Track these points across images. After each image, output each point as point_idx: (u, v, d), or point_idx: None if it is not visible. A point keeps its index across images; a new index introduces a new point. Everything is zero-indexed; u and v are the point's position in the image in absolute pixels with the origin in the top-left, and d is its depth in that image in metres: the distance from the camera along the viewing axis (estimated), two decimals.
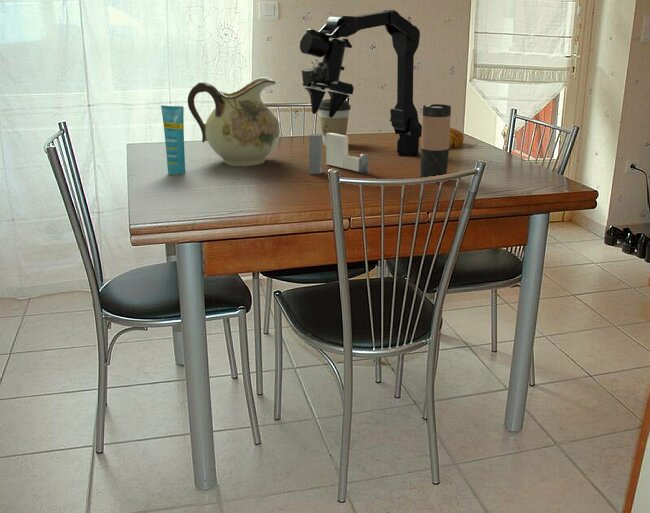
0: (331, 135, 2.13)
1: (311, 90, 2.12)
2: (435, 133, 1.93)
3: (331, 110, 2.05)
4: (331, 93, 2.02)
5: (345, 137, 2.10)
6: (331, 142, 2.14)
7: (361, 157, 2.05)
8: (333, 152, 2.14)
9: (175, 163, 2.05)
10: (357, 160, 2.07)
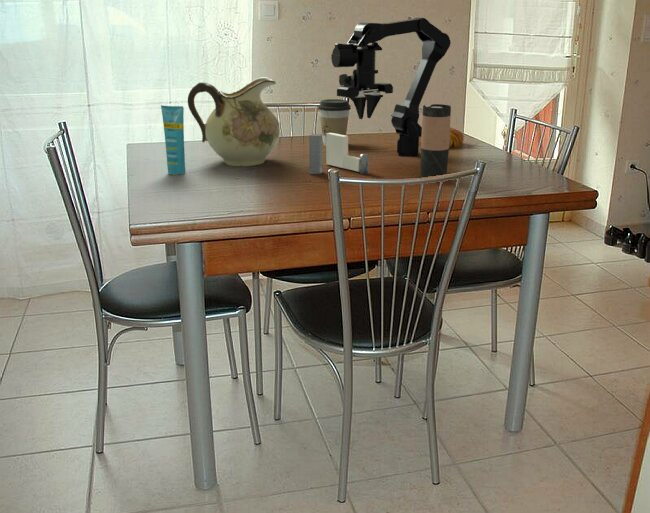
0: (331, 135, 2.13)
1: (365, 96, 2.24)
2: (435, 133, 1.93)
3: (357, 112, 2.22)
4: None
5: (345, 137, 2.10)
6: (331, 142, 2.14)
7: (361, 157, 2.05)
8: (333, 152, 2.14)
9: (175, 163, 2.05)
10: (357, 160, 2.07)
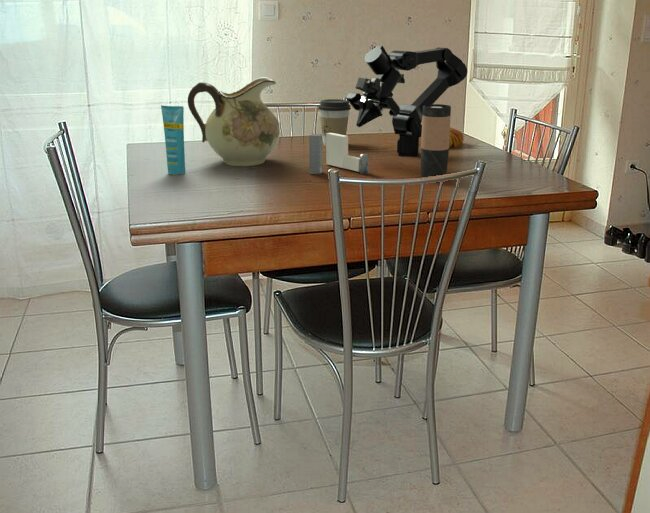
0: (331, 135, 2.13)
1: (364, 104, 2.17)
2: (435, 133, 1.93)
3: (362, 120, 2.16)
4: (369, 104, 2.14)
5: (345, 137, 2.10)
6: (331, 142, 2.14)
7: (361, 157, 2.05)
8: (333, 152, 2.14)
9: (175, 163, 2.05)
10: (357, 160, 2.07)
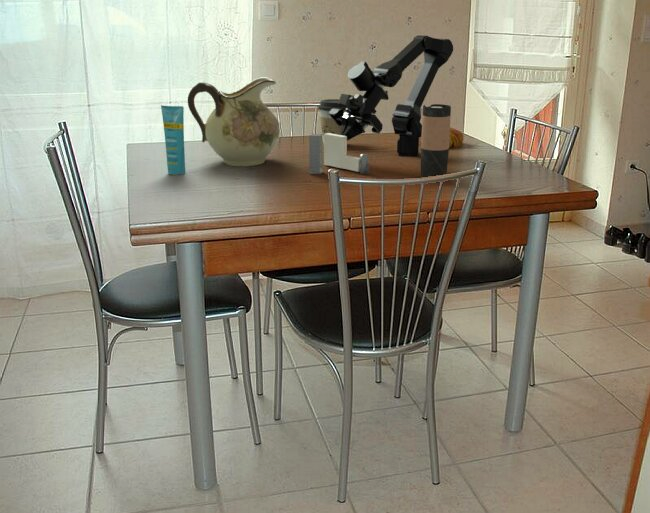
0: (329, 135, 2.13)
1: (346, 121, 2.14)
2: (435, 133, 1.93)
3: None
4: (352, 120, 2.11)
5: (344, 137, 2.10)
6: (329, 142, 2.13)
7: (361, 157, 2.05)
8: (331, 152, 2.14)
9: (175, 163, 2.05)
10: (357, 160, 2.07)
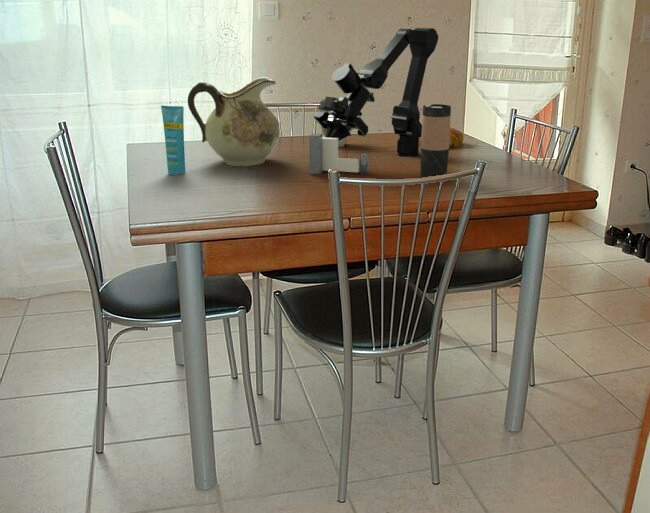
0: None
1: (331, 124, 2.10)
2: (435, 133, 1.93)
3: None
4: (337, 123, 2.08)
5: (337, 139, 2.07)
6: None
7: (361, 157, 2.05)
8: None
9: (175, 163, 2.05)
10: (356, 161, 2.06)
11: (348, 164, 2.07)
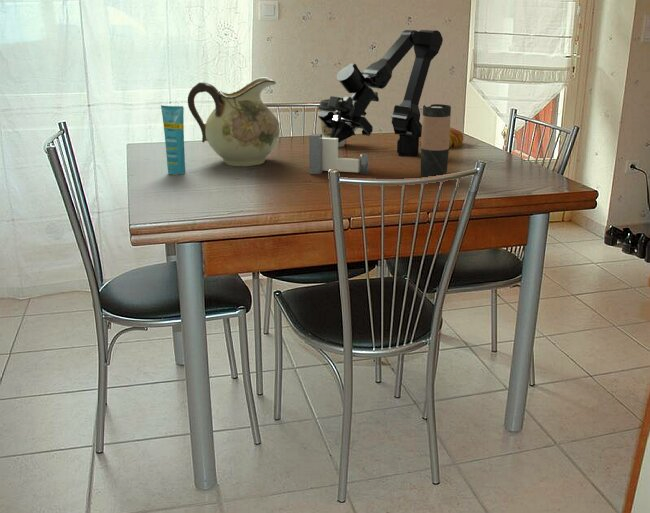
0: None
1: (336, 123, 2.11)
2: (435, 133, 1.93)
3: None
4: (342, 123, 2.09)
5: (337, 139, 2.06)
6: None
7: (361, 157, 2.05)
8: None
9: (175, 163, 2.05)
10: (356, 161, 2.06)
11: (348, 164, 2.07)
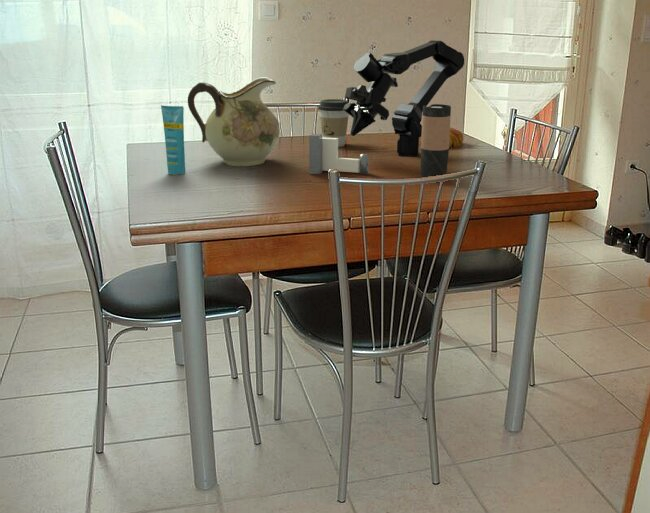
0: None
1: (356, 113, 2.18)
2: (435, 133, 1.93)
3: (355, 128, 2.17)
4: (359, 111, 2.15)
5: (337, 139, 2.06)
6: None
7: (361, 157, 2.05)
8: None
9: (175, 163, 2.05)
10: (356, 161, 2.06)
11: (348, 164, 2.07)
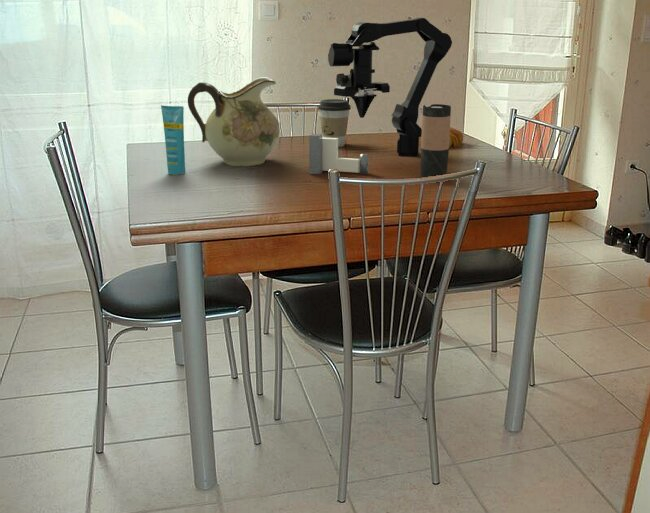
0: None
1: None
2: (435, 133, 1.93)
3: (358, 111, 2.24)
4: None
5: (337, 139, 2.06)
6: None
7: (361, 157, 2.05)
8: None
9: (175, 163, 2.05)
10: (356, 161, 2.06)
11: (348, 164, 2.07)
